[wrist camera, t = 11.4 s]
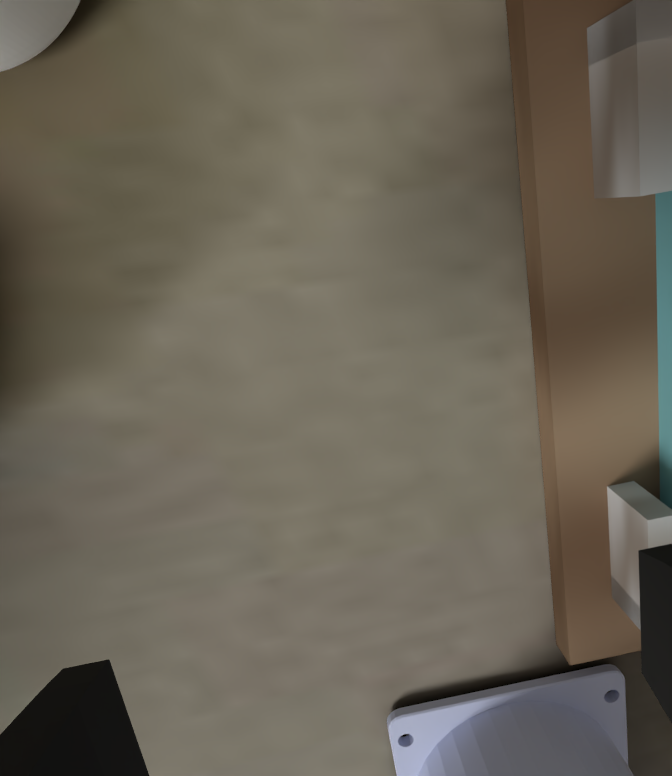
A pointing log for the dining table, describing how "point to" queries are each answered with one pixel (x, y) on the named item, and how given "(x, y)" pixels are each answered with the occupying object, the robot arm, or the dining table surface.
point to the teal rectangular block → (664, 339)
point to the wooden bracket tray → (595, 294)
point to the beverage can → (30, 27)
